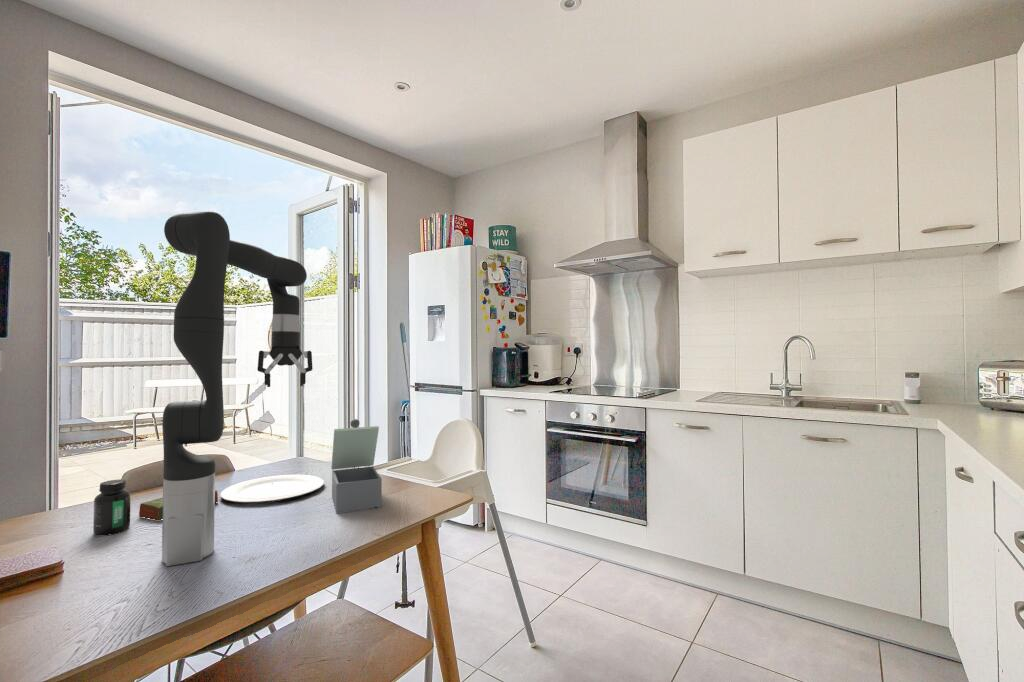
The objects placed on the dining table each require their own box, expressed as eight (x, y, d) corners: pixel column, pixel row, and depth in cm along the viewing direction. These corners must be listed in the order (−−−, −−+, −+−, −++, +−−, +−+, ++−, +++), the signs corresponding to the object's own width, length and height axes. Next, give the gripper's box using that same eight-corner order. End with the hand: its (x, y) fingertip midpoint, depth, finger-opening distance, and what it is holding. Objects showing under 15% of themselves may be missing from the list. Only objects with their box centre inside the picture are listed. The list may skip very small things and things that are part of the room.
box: (381, 507, 130) (381, 478, 130) (336, 513, 125) (336, 483, 125) (372, 491, 145) (372, 466, 145) (331, 497, 140) (332, 470, 140)
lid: (378, 428, 137) (376, 413, 141) (334, 431, 131) (333, 416, 136) (373, 465, 145) (371, 450, 150) (331, 469, 140) (330, 454, 144)
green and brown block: (218, 504, 134) (218, 489, 134) (157, 523, 119) (158, 506, 119) (199, 500, 137) (199, 486, 137) (138, 518, 123) (138, 502, 123)
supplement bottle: (125, 533, 112) (126, 483, 112) (88, 538, 109) (90, 487, 109) (133, 523, 118) (134, 476, 118) (98, 528, 115) (99, 480, 115)
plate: (342, 488, 149) (342, 482, 149) (249, 514, 125) (250, 507, 125) (293, 475, 166) (293, 470, 166) (202, 496, 142) (202, 490, 142)
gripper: (257, 329, 127) (256, 388, 127) (313, 330, 133) (312, 386, 133) (259, 330, 134) (258, 386, 133) (312, 331, 140) (311, 385, 140)
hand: (285, 386), depth 133 cm, fingers open, 8 cm apart
